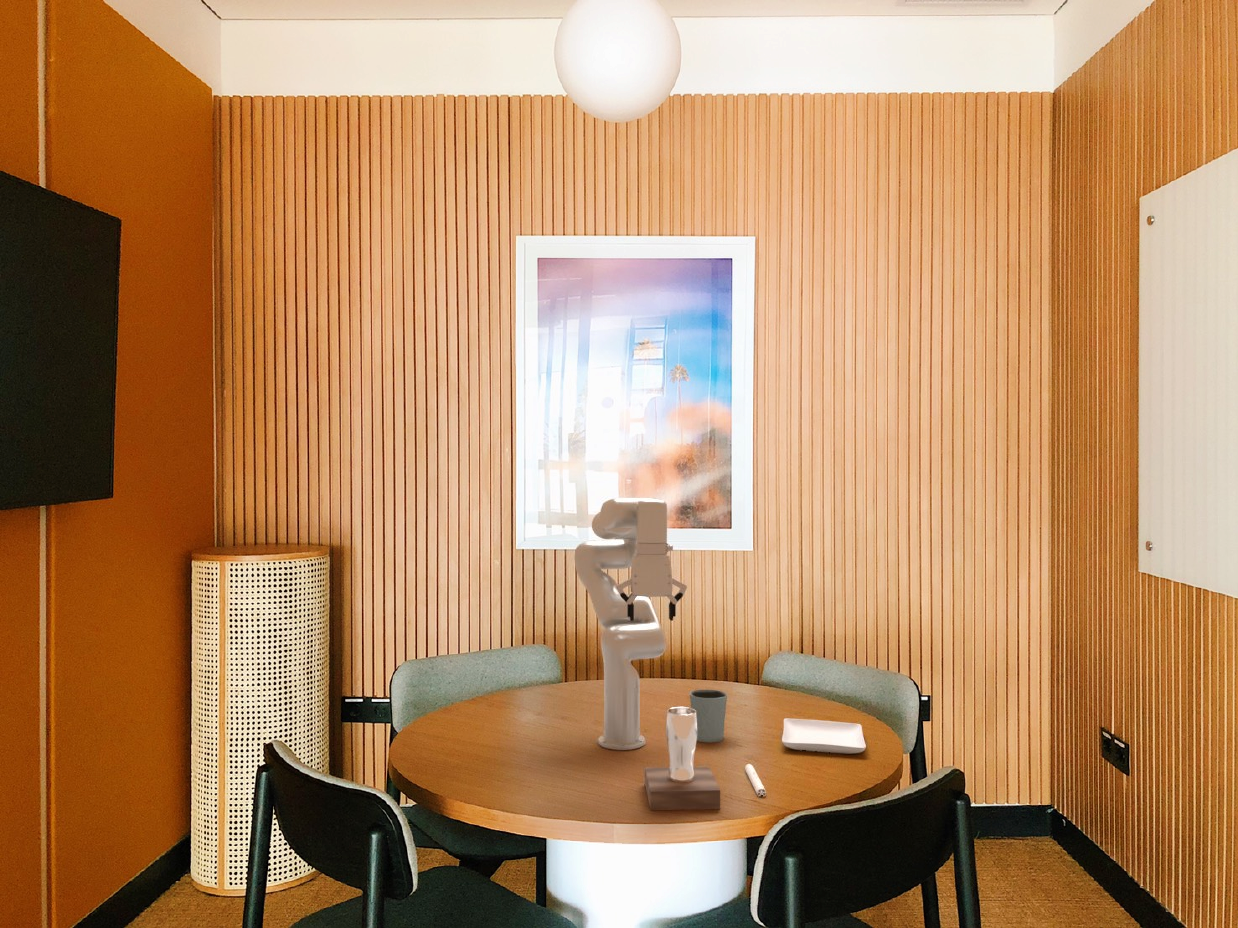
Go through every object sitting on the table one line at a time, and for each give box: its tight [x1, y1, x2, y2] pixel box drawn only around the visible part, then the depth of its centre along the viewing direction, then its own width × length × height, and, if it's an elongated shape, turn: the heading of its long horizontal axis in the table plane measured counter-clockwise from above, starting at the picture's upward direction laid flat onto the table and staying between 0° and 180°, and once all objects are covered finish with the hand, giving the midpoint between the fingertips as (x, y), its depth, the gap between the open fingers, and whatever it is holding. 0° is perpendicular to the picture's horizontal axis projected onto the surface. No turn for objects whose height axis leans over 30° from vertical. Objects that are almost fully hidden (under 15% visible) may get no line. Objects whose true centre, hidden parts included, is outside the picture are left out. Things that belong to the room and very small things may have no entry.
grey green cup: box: [689, 689, 728, 743], centre depth 232 cm, size 10×10×12 cm
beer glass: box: [665, 706, 698, 783], centre depth 190 cm, size 7×7×15 cm
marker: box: [744, 763, 767, 797], centre depth 198 cm, size 18×2×2 cm, turn 1°
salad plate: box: [781, 717, 867, 755], centre depth 228 cm, size 21×21×3 cm
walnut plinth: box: [644, 765, 721, 811], centre depth 189 cm, size 15×15×4 cm
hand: (651, 619), depth 207 cm, fingers open, 9 cm apart
